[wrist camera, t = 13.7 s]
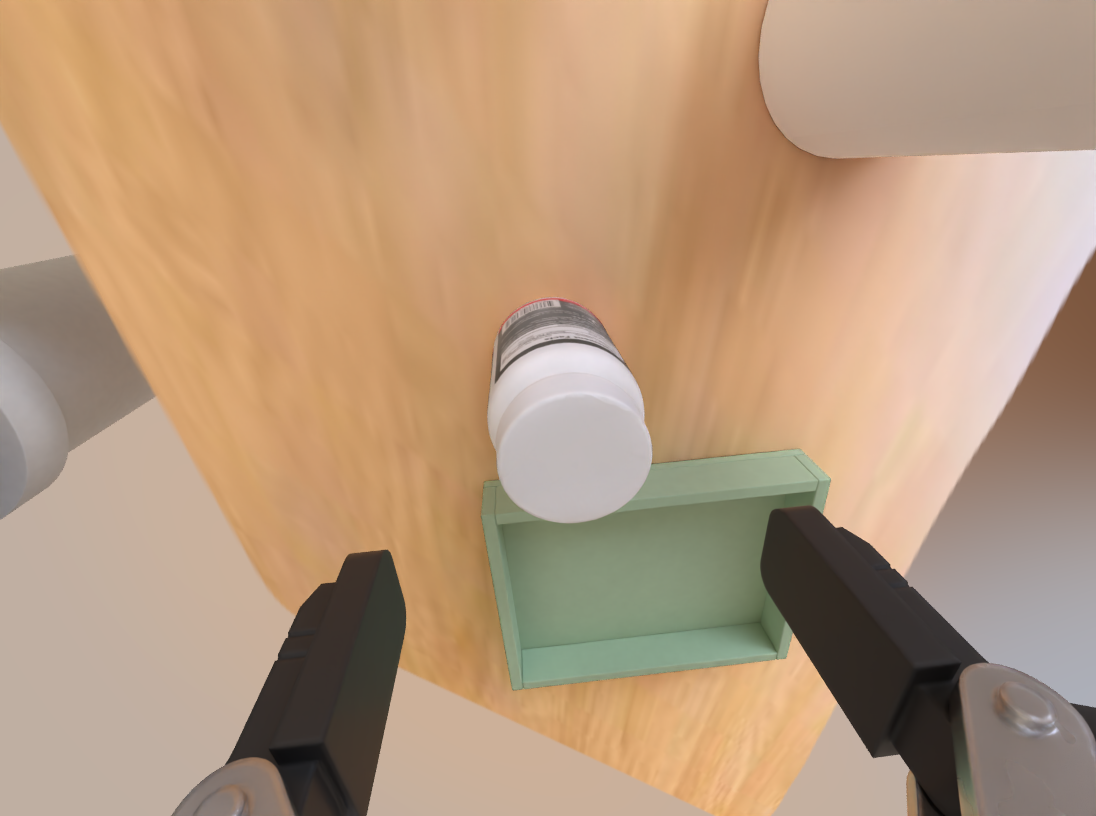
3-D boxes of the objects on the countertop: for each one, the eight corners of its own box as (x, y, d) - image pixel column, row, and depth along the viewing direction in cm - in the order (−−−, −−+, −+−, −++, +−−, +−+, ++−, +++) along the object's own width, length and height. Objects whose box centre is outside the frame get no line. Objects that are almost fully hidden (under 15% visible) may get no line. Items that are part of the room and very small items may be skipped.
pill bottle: (584, 414, 21) (626, 552, 13) (480, 387, 20) (462, 519, 12) (625, 314, 19) (701, 409, 11) (512, 278, 18) (513, 357, 10)
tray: (512, 649, 28) (512, 691, 25) (483, 481, 22) (480, 516, 20) (764, 620, 28) (786, 659, 26) (800, 448, 22) (832, 478, 20)
